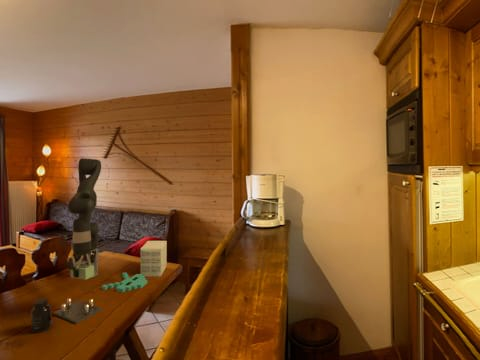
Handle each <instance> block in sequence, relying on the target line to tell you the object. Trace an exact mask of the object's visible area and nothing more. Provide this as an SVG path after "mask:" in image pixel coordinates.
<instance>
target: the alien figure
mask: <svg viewBox="0 0 480 360" xmlns="http://www.w3.org/2000/svg"><path fill="white" fill-rule="evenodd" d="M121 278H122V279H123V280H122V281H120V282H118V281H116V282H115V283H109V284H103V285H101V290H103V291H106V290H107V289H110V290H111V289H113V288H115V291H116V292H118V293H119V292H120V293H124V292H126V291H128V292H130V291H131V290H136V289H142V288H143V287H144V286H145V285H147V284H148V280H147V278H146V276H143V275H142V274H141V273H136V274H135V275H133V276H131V277H130V276H129V274H128V272H122V273H121Z"/></svg>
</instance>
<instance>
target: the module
mask: <svg viewBox="0 0 480 360" xmlns="http://www.w3.org/2000/svg"><path fill="white" fill-rule="evenodd" d="M78 270H79V277H78V278H75V277H74V276H73V270H70V269H69V271H70V272H69V275H70V278H71V279H78V280H85V281H86V280H89V279H91V278H90V277H93V276H94V265H86V264H80V265H79V268H78ZM93 278H94V277H93Z"/></svg>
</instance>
